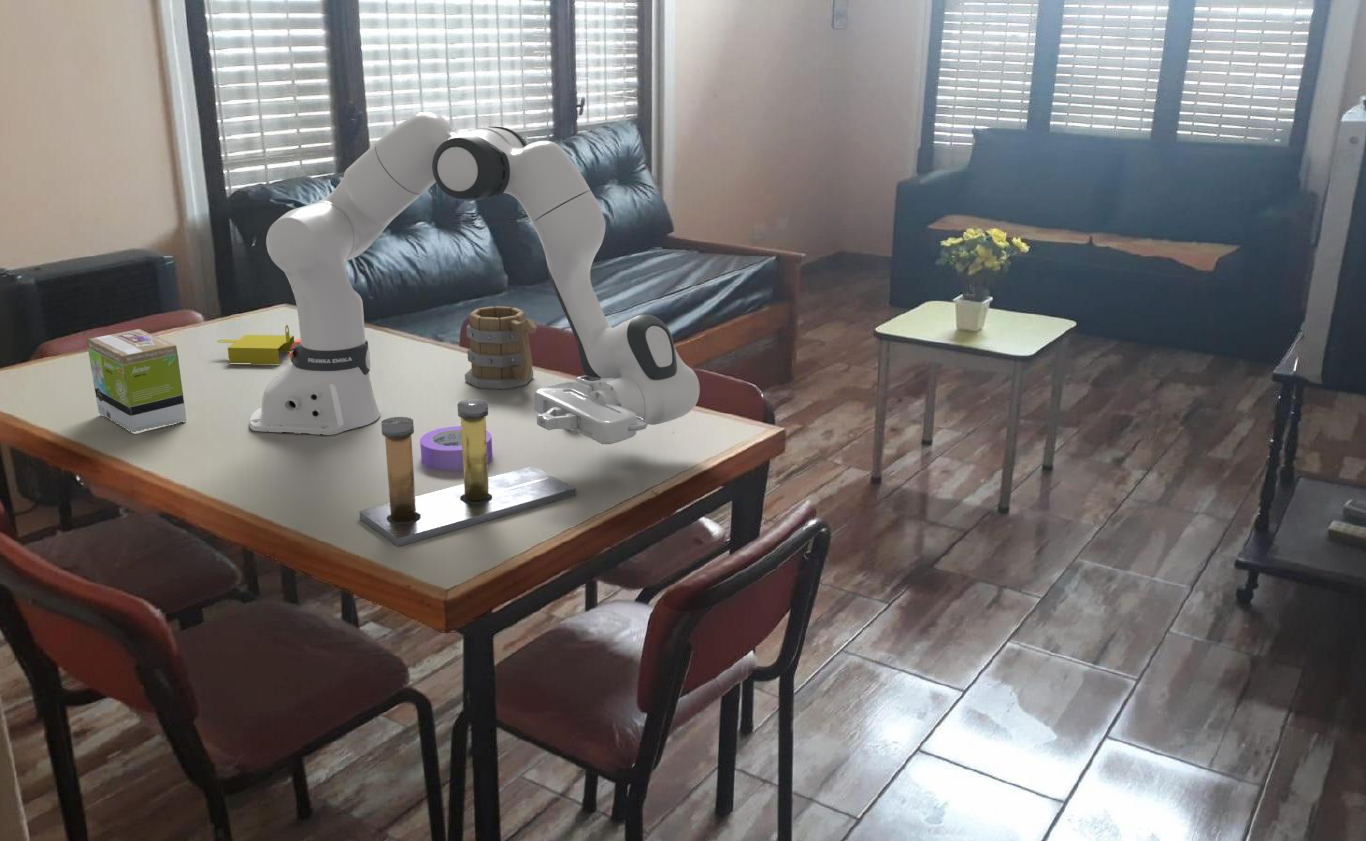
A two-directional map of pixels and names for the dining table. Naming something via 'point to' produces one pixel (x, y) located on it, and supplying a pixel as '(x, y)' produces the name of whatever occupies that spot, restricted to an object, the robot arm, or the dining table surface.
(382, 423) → the fixed pin
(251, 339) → the bracket
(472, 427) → the pin
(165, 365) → the tea box
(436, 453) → the masking tape
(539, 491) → the plate
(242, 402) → the dining table surface
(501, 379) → the tankard
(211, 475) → the dining table surface
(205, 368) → the dining table surface
